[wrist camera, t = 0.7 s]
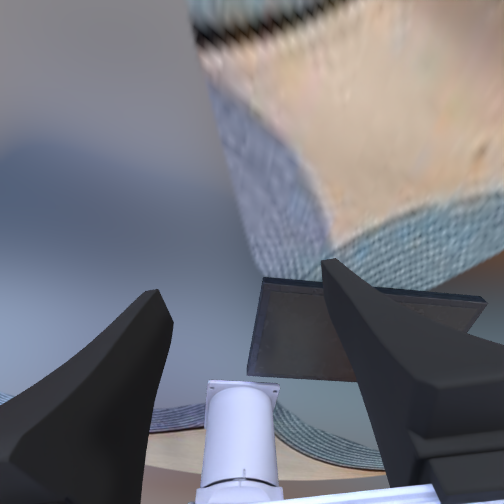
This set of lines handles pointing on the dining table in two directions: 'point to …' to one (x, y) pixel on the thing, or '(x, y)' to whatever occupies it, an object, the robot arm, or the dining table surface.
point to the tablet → (329, 328)
